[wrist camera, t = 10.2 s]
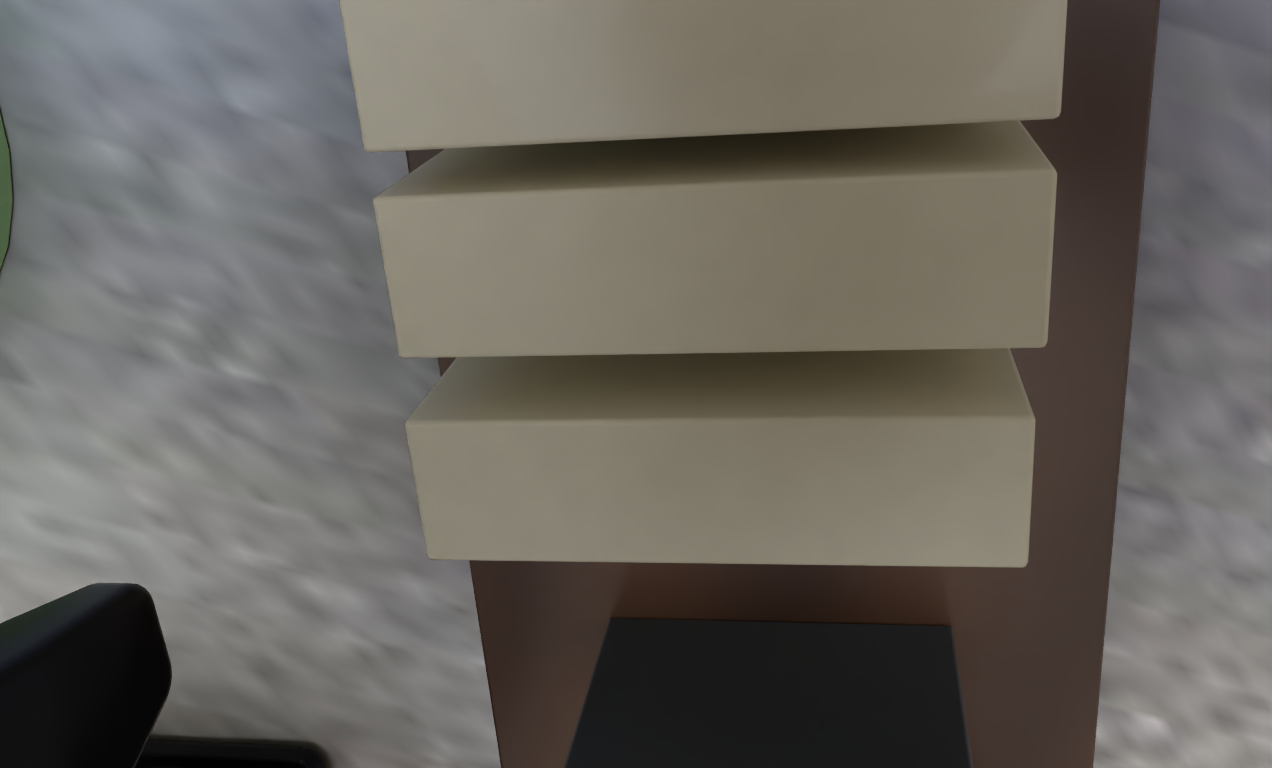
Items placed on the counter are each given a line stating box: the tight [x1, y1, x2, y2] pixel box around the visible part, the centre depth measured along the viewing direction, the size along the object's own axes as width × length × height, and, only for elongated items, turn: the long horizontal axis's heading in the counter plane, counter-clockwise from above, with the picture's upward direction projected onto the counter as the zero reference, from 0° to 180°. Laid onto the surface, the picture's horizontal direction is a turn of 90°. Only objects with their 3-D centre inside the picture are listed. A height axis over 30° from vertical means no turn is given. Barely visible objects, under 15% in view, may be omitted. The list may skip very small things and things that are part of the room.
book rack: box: [406, 0, 1160, 768], centre depth 18 cm, size 11×20×6 cm, turn 4°
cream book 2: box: [373, 121, 1057, 358], centre depth 14 cm, size 6×2×8 cm, turn 95°
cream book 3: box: [405, 348, 1036, 568], centre depth 15 cm, size 6×2×8 cm, turn 95°
